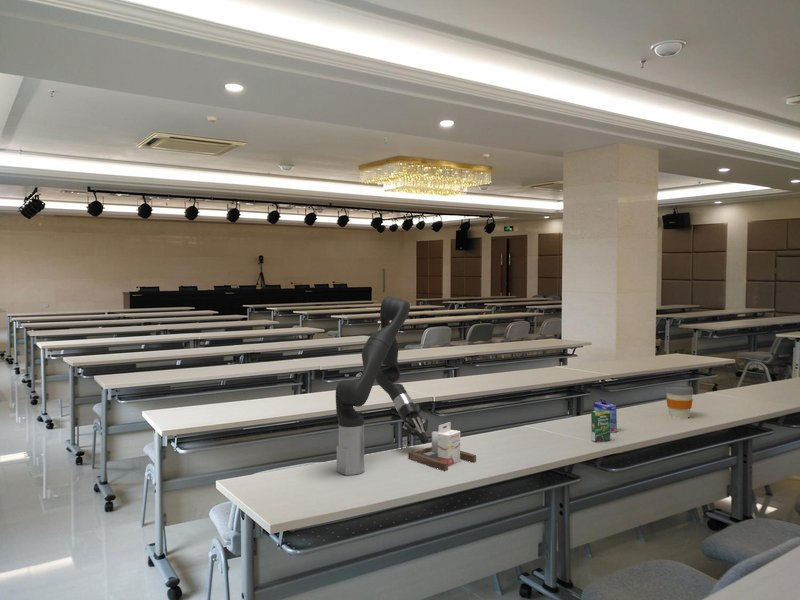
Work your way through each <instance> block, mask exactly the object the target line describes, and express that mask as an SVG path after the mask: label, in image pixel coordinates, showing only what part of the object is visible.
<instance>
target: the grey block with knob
mask: <svg viewBox="0 0 800 600" xmlns="http://www.w3.org/2000/svg"><path fill="white" fill-rule="evenodd" d="M431 447H432V451H431V452H427V453H423V455H425V456H428V457H431V458H434V459H437V460H438V431H435V430H434V431H431Z"/></svg>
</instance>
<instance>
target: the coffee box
mask: <svg viewBox="0 0 800 600" xmlns="http://www.w3.org/2000/svg"><path fill="white" fill-rule="evenodd" d="M590 414H591V415H590V417H591V420H590V421H591V422H590V423H591V426H590V427H591V442H592V443H593V442H594V443H599V442H600V443H601V442H610V441H611V433H610V411H609V410H599V411H594V410H593V411H590Z"/></svg>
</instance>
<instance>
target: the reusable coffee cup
mask: <svg viewBox="0 0 800 600" xmlns="http://www.w3.org/2000/svg"><path fill="white" fill-rule="evenodd" d="M665 393H666V398H665V400H666V406H667V408H668V415H670V416H671V417H676V418H688V417H689V418H690V414H691V409H692V408H693V407H692V406H693V395H694V388H693V387H692V386H688V385H680V384H670V385H666V386H665ZM670 416H669V417H670ZM671 417H670V418H671ZM676 418H675V419H676ZM689 418H688V419H689Z"/></svg>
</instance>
